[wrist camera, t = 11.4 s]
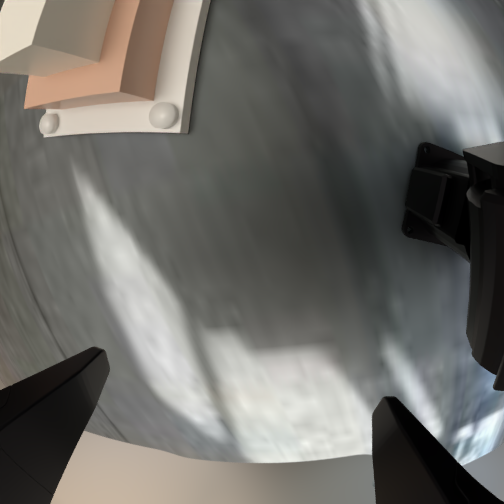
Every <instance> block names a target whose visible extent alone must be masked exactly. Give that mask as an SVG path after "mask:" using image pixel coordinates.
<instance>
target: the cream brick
mask: <svg viewBox="0 0 504 504" xmlns="http://www.w3.org/2000/svg"><path fill="white" fill-rule="evenodd" d="M114 2H115V0H5V2H4V4H3V7H2V9H1V12H0V73H11V74H22V75H32V76H40V77H46V76H50V75H53V74H56V73H59V72H63V71H67V70H70V69H74V68H78V67H82V66H86V65H91V64H95V63H99V60H100V55H101V50H102V46H103V41H104V37H105V33H106V29H107V26H108V22H109V18H110V15H111V12H112V8H113V5H114Z"/></svg>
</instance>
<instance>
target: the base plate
mask: <svg viewBox="0 0 504 504" xmlns="http://www.w3.org/2000/svg"><path fill="white" fill-rule="evenodd" d="M210 1H211V0H115V2H114V5H113V8H112V12H111V15H110V18H109V22H108V26H107V29H106V33H105V37H104V41H103V46H102V50H101V55H100V60H99V63H95V64H91V65H86V66H82V67H78V68H74V69H70V70H67V71H63V72H59V73H56V74H53V75H50V76H46V77H40V76H32V75H29V80H28V85H27V92H26V98H25V106H24V109H46V114H45V115H43V117H42V118H41V120H40V124H39V128H40V132H41V133H42V134H44V137H53V136H64V135H76V134H92V133H117V132H159V133H186V134H188V130H189V122H190V114H191V106H192V99H193V92H194V85H195V79H196V72H197V66H198V60H199V55H200V49H201V44H202V39H203V34H204V29H205V24H206V19H207V14H208V10H209V5H210Z"/></svg>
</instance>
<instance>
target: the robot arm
mask: <svg viewBox="0 0 504 504" xmlns="http://www.w3.org/2000/svg"><path fill="white" fill-rule="evenodd" d="M425 146H426V147H427V149H428V151H427V153H425V151H424V148H425ZM463 155H464V157H463V156H461V155H458V154H456V153H454V152H451V151H449V150H446V149H444V148H441V147H439V146H436V145H433V144H431V143H427V142H422V143H421V144H420V145H419V147H418V153H417V159H416V165H415V168H414V169H413V170H412V174H411V180H410V185H409V190H408V194H407V199H406V203H405V206H406V208H407V209H406V213H405V217H404V221H403V225H402V233H403V234H404V235H405V236H407V237H409V238H414V239H418V240H423V241H427V242H432V243H436V244H440V245H445V246H448V247H450V248H451V249H452V250H454V251H455V252H456V253H458V254H459V255H460V256H462V257H463V258H464V259H465V260H467V261H468V262H469V263H470V290H469V304H468V315H467V328H466V334H467V337H468V340H469V343H470V346H471V348H472V356H473V357H474V359H475V360H476V361H477V362H478V363H479V364H480V365H481V366H482V367H484V368H485V369H486V370H488V371H489V372H491V373H492V374H495V375H497V376H496V379H495V382H494V384H493V388H494V390H498V391H504V142H499V143H493V144H488V145H482V146H477V147H472V148H467V149H463ZM408 227H411V230H410V231H409V232H407V229H408ZM109 372H110V366H109V362H108V358H107V354H106V351H105V350H104V349H101V348H98V347H91V348H89V349H87V350H85V351H83V352H81V353H79V354H77V355H74V356H72V357H70V358H68V359H66V360H64V361H62V362H60V363H58V364H56V365H53V366H51V367H49V368H47V369H45V370H43V371H41V372H39V373H36V374H34V375H32V376H30V377H28V378H26V379H24V380H21V381H19V382H17V383H15V384H13V385H12V386H8V387H6V388H4V389H2V390H0V504H50V503H51V500H52V498H53V496H54V495H53V494H54V493H55V491H56V488H57V486H58V483H59V481H60V479H61V477H62V474H63V473H64V470H65V468H66V466H67V464H68V462H69V460H70V457H71V455H72V453H73V451H74V449H75V447H76V445H77V443H78V441H79V439H80V437H81V435H82V433H83V431H84V429H85V427H86V425H87V423H88V421H89V419H90V417H91V415H92V414H93V412H94V409H95V407H96V405H97V403H98V400H99V397H100V395H101V392H102V390H103V387H104V385H105V382H106V380H107V377H108V375H109ZM372 457H373V469H374V481H375V495H376V504H504V502H503V501H501V500H500V499H498V498H497V497H496V496H495V495H493V494H492V493H491V492H489V491H488V490H487V489H486V488H485V487H484V486H482V485H481V484H480V483H479V482H478V481H477V480H476V479H474V478H473V477H472V476H471V475H470V474H469V473H468V472H467V471H466V470H465V469H464V468H463V467H462V466H461V465H460V464H459V463H458V462H457V461H456V459H455V458H454V457H453V456H452V455H451V454H450V453H449V452H448V451H447V450H446V449H445V448H444V447H443V446H442V445H441V444H440V443H439V442H438V440H437V439H436V438H435V437H434V436H433V435H432V434H431V433H430V432H429V431H428V430H427V429H426V428H425V427H424V426H423V425H422V424H421V423H420V422H419V421H418V419H417V418H416V417H415V416H414V415H413V414H412V413H411V412H410V411H409V410H408V409H407V408H406V407H405V406H404V405H403V404H402V403H401V402H400V401H399V400H398V398H396V397H394V396H386V397H383V398H382V399H381V401H380V402H379V404H378V406H377V407H376V408H375V410H374V412H373V415H372Z"/></svg>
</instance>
